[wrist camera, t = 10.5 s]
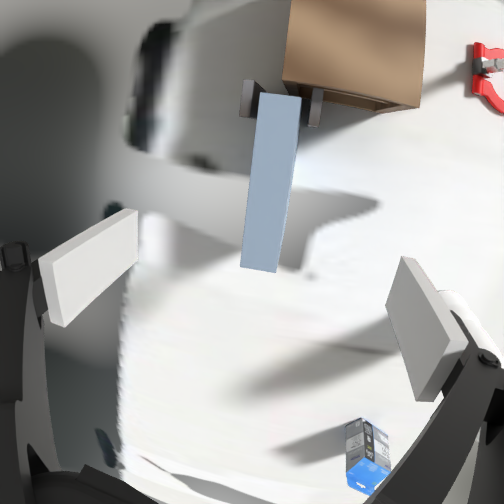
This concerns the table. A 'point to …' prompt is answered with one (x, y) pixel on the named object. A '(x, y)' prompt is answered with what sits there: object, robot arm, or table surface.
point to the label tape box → (366, 456)
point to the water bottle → (470, 325)
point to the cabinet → (351, 56)
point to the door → (270, 180)
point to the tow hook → (487, 73)
